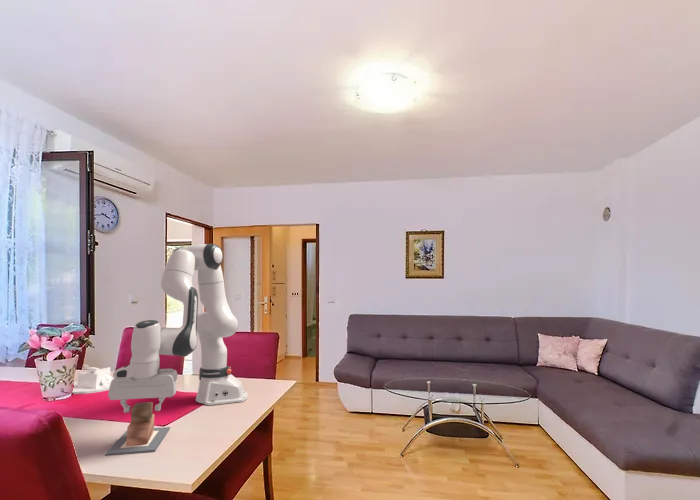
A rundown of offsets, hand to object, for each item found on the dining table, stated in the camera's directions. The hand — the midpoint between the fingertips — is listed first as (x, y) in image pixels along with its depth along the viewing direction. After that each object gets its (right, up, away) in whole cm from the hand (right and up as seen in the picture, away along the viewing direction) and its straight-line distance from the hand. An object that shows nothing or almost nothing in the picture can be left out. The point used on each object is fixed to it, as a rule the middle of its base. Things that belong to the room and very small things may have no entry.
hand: (142, 411), depth 124 cm
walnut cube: (0, -3, 0) cm, 3 cm away
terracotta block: (0, -9, -1) cm, 9 cm away
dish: (-57, -14, +59) cm, 84 cm away
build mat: (0, -10, -1) cm, 10 cm away
